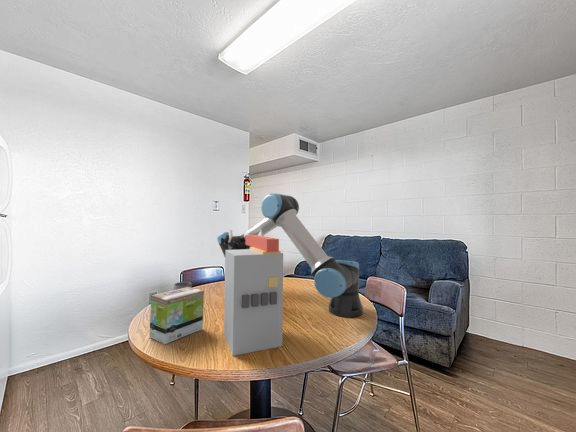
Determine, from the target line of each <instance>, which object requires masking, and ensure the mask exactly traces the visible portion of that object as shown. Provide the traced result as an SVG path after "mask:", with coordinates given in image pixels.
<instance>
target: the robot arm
mask: <svg viewBox="0 0 576 432" xmlns="http://www.w3.org/2000/svg"><path fill="white" fill-rule="evenodd" d="M260 208H261V209H260V211H261V213H262V215H263V217H265V218H263V219H262V220H260V221H259V222H258V223H256V224H255V225H254V226H252V227H250V229H248V230H247V231H245V232H244V233H243V234H241V235H235V236H234V235H233V230H232V229H231V230H229V231H224V232H222V233H220V234H218V236H217V238H216V239H217V243H218V245H219V246H220V247H219V248H220V249H221V251H222V254H223V257H224V258H225V250H241V249H250V247H251V246H248V245H246V244H245V240H246V235H259V236H265V235H267V234H268V233H270V232H271V231H273V230H275V229H276V228H279V227H280V228H281V229H282V230H283V232H284V233H285V234H286V235H287V237H288V239H290V241H291V243H293V245H294V246H295V247H296V249H297V250H298V252H299V253H300V254H301V256H302V257H303V258H304V260H305V261H306V263H307V264H308V266H309V267H310V268H311V271H310V272H311V275H312V277H313V280H314V283H313V284H314V287H315V290H316V291H317V292H318V294H320V295H322V296H324V297H325V298H330V300H329V303H328V312H329V313H330V314H332V315H334V316H338V317H341V316H342V317H343V318H356V317H355V316H358V317H361V316H362V315H363V313H364V312H363V311H364V307H363V304H362V301H361V297H360V293H359V292H360V264H359V262H357V261H355V260H345V259H344V260H342V259H335V257H333V256H329V255H327V254H326V253H327V252H325V251H324V250H323V248H322V247H321V246H320V244H319V243H318V242H317V240H316V239H315V238H314V237H313V235H312V234H311V232H310V231H309V230H308V229H307V228H306V226H305V225H304V224H303V223H302V221H301V220H300V219H299V218H298V213H299V210H300V205H299V202H298V200H297V199H296V198H295V197H293V196H291V195H288V194H287V195H285V194H281V193H278V192H274V193H268V194H266V196H264V198H263V200H262V201H261V206H260ZM360 315H361V316H360Z"/></svg>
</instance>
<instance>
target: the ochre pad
mask: <svg viewBox="0 0 576 432" xmlns="http://www.w3.org/2000/svg"><path fill="white" fill-rule="evenodd" d="M250 249H251V250H253V251H256V252H258V253H261V254H281V253H282V252H281V250H279V252H265V251H262V250H260V249H257V248H254V247H250Z"/></svg>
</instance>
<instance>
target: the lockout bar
mask: <svg viewBox="0 0 576 432" xmlns="http://www.w3.org/2000/svg"><path fill="white" fill-rule="evenodd" d="M279 239H280V238H274V237H270V236H265V235H264V236H259V235H246V240H245V244H246V245H248V246H251V247H254V248H257V249H260V250H262V251H265V252H279V251H280V248H279V247H280V240H279Z"/></svg>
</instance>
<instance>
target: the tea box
mask: <svg viewBox="0 0 576 432" xmlns="http://www.w3.org/2000/svg"><path fill="white" fill-rule="evenodd" d="M204 292H205V290H202V289H198V288H193V287H192V288H190V287H186V288H181V289H177V290H169V291H164V292H160V293H156V294H152V295H151V297H150V312H149V313H150V315H149V317H150V318H149V335H148V336H149V338H150V339H153V340H154V341H157V342H159V343H161V344H164V345H168V344H169V343H171V342H174V341H176V340H179V339H181V338H185V337H186V336H188V335H191V334H194V333H196V332H199V331H202V330H203V327H204V325H203V324H204V323H203V322H204V302H205V301H204V299H205V297H204V295H205V293H204Z"/></svg>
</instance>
